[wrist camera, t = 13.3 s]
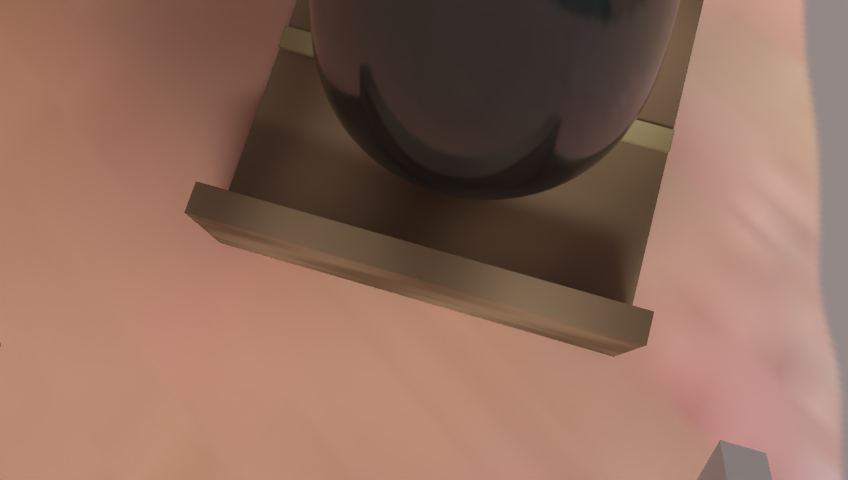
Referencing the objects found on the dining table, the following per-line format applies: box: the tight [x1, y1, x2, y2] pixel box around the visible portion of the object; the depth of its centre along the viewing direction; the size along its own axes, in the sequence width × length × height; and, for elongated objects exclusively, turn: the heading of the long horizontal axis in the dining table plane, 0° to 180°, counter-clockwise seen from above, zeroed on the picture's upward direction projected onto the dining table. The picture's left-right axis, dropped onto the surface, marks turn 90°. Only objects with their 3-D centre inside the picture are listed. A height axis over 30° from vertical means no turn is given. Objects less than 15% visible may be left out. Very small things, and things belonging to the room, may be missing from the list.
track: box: [185, 0, 703, 356], centre depth 26 cm, size 14×15×4 cm
